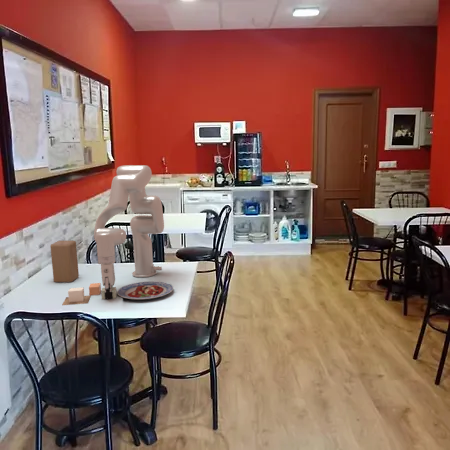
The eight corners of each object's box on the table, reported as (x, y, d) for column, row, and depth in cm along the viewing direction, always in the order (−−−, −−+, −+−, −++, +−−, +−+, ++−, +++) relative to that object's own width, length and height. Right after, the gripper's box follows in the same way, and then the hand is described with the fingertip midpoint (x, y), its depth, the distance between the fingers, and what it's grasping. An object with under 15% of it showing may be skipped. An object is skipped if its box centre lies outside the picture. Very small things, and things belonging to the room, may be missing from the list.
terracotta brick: (91, 293, 225) (90, 283, 224) (101, 293, 226) (100, 282, 225) (89, 297, 219) (88, 287, 218) (99, 297, 220) (99, 286, 219)
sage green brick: (116, 297, 218) (115, 287, 217) (116, 300, 214) (115, 290, 213) (103, 298, 217) (102, 288, 216) (102, 301, 213) (101, 291, 212)
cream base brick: (84, 298, 215) (83, 287, 214) (83, 301, 211) (82, 290, 210) (70, 299, 214) (69, 288, 213) (69, 302, 210) (68, 291, 209)
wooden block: (79, 277, 253) (76, 240, 250) (71, 282, 244) (68, 244, 240) (61, 277, 254) (58, 240, 251) (53, 282, 245) (49, 244, 241)
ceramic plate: (129, 285, 237) (129, 279, 237) (179, 286, 233) (179, 280, 232) (108, 302, 212) (107, 296, 212) (164, 304, 208) (163, 297, 208)
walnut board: (91, 297, 219) (91, 295, 218) (88, 305, 208) (88, 303, 208) (66, 299, 217) (66, 297, 217) (62, 307, 206) (61, 305, 206)
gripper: (113, 263, 205) (116, 304, 208) (116, 254, 221) (119, 292, 224) (95, 264, 203) (99, 305, 207) (99, 255, 220) (102, 293, 223)
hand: (109, 298), depth 215 cm, fingers closed on sage green brick, 4 cm apart
